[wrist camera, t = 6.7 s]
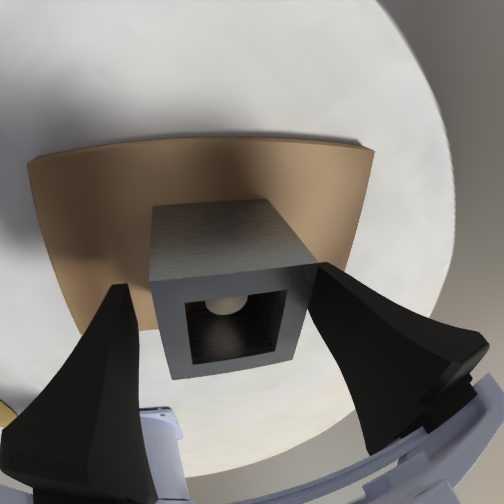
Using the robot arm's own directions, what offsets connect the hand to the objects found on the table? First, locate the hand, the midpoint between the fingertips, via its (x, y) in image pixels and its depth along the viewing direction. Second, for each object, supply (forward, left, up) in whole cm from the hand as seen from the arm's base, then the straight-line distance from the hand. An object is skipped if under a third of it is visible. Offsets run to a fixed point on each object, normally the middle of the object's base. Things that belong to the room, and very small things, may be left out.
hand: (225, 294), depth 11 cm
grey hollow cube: (0, 0, -3) cm, 3 cm away
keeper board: (0, 0, -4) cm, 4 cm away
